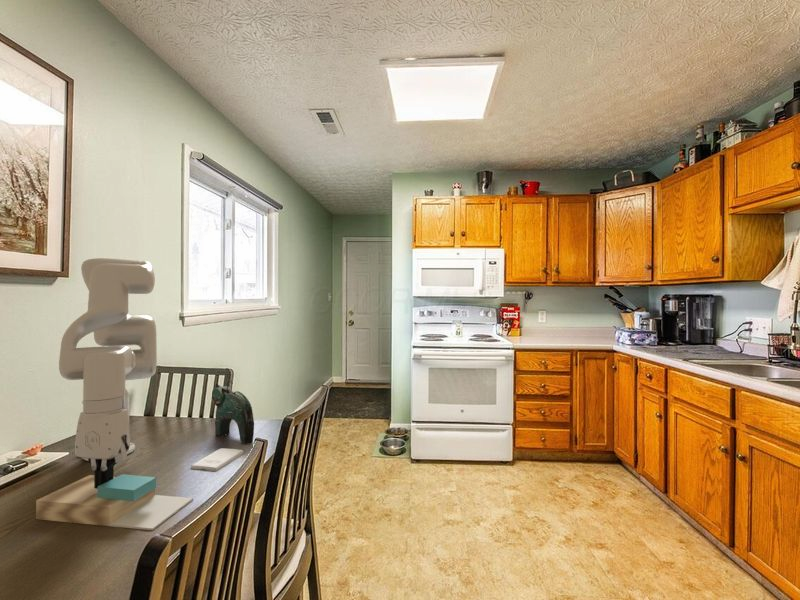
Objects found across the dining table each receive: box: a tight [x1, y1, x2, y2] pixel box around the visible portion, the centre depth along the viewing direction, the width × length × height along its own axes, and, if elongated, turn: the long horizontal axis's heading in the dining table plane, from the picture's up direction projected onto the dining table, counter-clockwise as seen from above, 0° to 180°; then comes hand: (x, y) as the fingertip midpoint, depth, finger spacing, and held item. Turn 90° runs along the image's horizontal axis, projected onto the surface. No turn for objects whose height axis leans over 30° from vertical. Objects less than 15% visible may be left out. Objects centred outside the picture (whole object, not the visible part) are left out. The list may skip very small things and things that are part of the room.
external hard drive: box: [190, 447, 244, 472], centre depth 111 cm, size 2×8×12 cm
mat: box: [109, 494, 194, 531], centre depth 83 cm, size 10×12×1 cm
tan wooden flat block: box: [35, 474, 156, 527], centre depth 85 cm, size 18×12×4 cm, turn 82°
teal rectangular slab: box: [97, 473, 157, 501], centre depth 84 cm, size 9×6×2 cm, turn 81°
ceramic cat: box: [211, 379, 255, 446], centre depth 129 cm, size 20×6×20 cm, turn 55°
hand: (104, 485), depth 85 cm, fingers closed
